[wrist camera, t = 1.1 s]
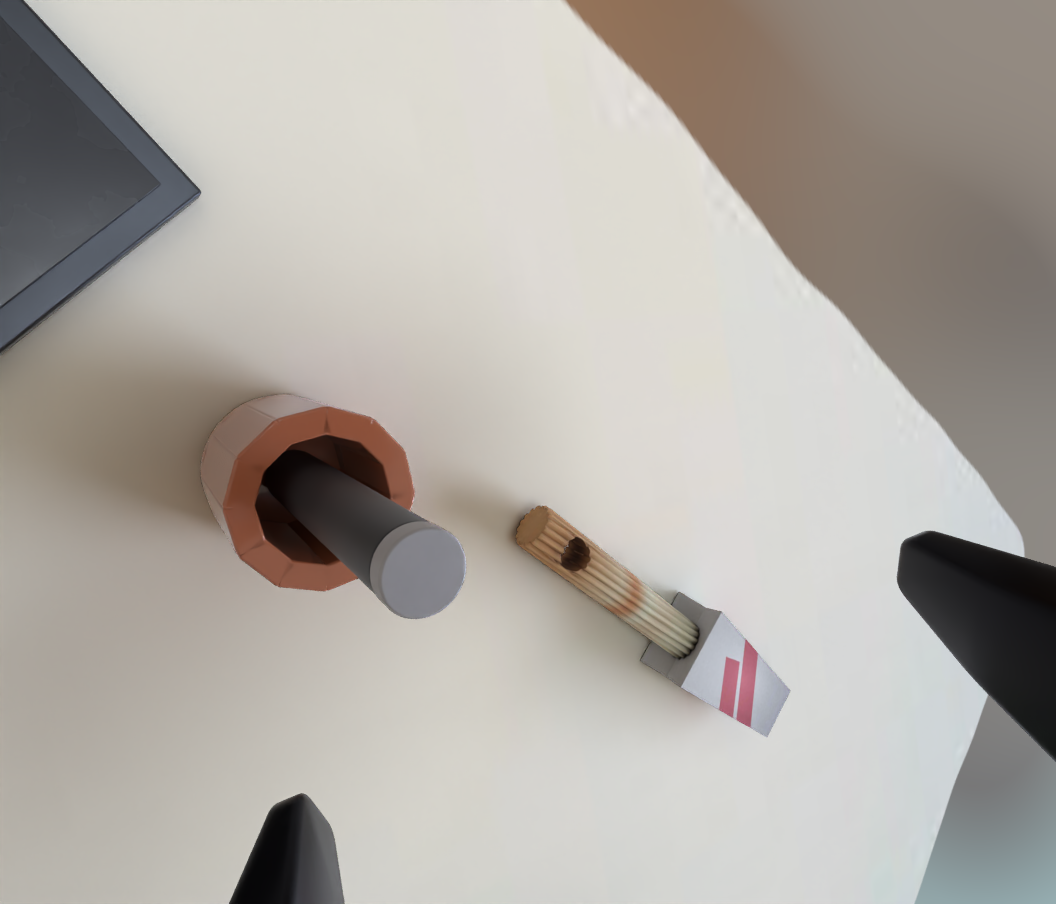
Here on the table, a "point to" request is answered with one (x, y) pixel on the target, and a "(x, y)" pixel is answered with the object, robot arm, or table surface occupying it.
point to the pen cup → (258, 516)
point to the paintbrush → (664, 625)
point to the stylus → (371, 535)
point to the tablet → (68, 176)
